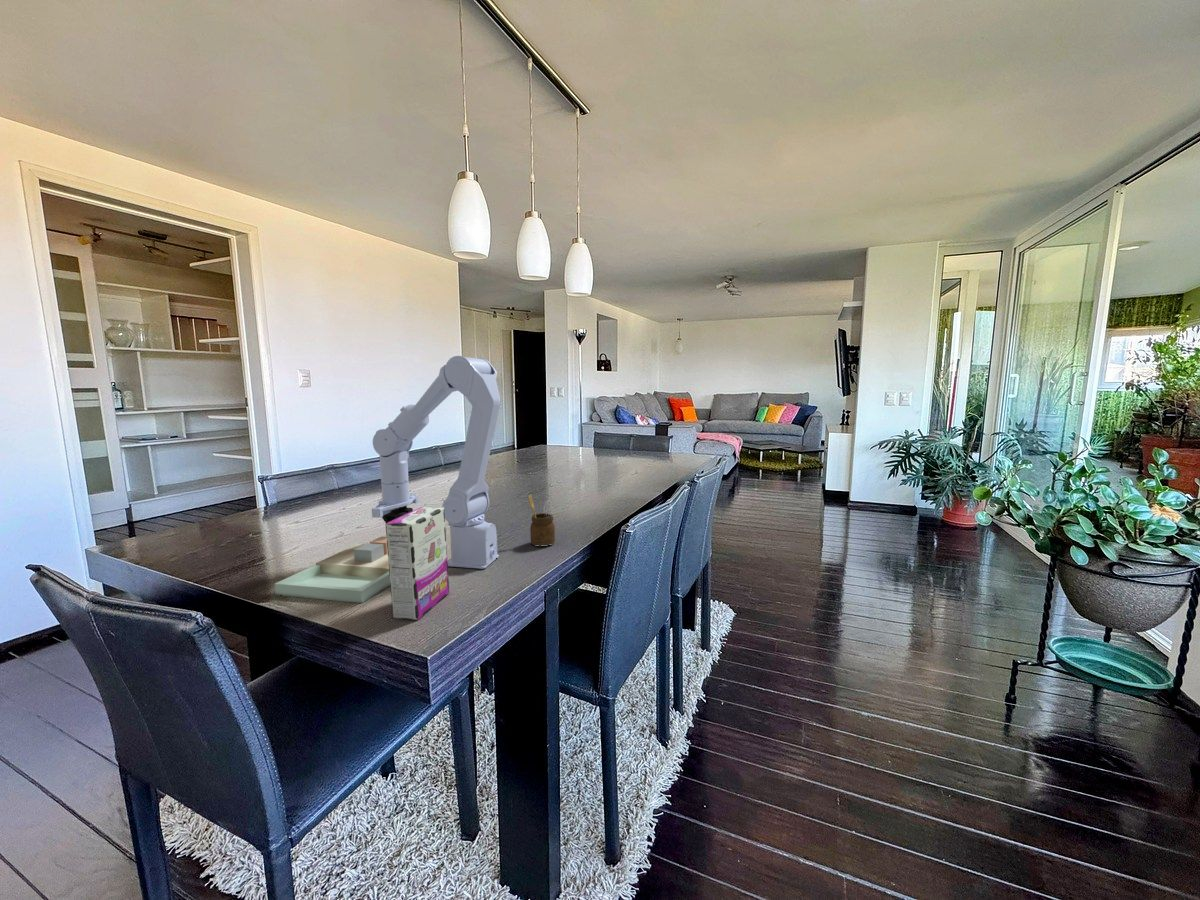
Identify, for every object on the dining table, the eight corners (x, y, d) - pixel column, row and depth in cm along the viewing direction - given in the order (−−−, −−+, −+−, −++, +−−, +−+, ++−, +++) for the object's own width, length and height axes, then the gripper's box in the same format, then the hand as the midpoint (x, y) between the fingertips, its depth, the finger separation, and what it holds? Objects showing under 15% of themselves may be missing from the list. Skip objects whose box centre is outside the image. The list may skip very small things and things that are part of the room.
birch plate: (431, 559, 109) (430, 548, 109) (396, 581, 97) (395, 569, 96) (359, 554, 113) (358, 543, 113) (316, 574, 100) (315, 563, 100)
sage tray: (396, 581, 97) (395, 570, 96) (362, 602, 87) (361, 591, 87) (316, 574, 100) (315, 564, 100) (275, 595, 90) (274, 583, 90)
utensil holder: (550, 548, 116) (549, 498, 115) (525, 546, 118) (524, 497, 116) (558, 540, 122) (557, 493, 120) (534, 539, 123) (533, 492, 122)
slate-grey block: (384, 555, 104) (383, 544, 104) (371, 562, 100) (371, 550, 100) (367, 554, 105) (366, 543, 105) (354, 561, 101) (353, 549, 101)
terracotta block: (398, 548, 109) (397, 537, 109) (387, 554, 105) (386, 543, 105) (382, 547, 110) (381, 536, 109) (370, 553, 106) (369, 541, 106)
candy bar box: (425, 591, 92) (420, 505, 90) (450, 593, 91) (446, 506, 89) (389, 619, 81) (383, 522, 79) (417, 621, 80) (412, 523, 78)
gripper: (398, 475, 118) (401, 530, 120) (357, 487, 104) (361, 549, 106) (424, 476, 117) (427, 532, 119) (387, 488, 103) (390, 551, 105)
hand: (398, 540), depth 112 cm, fingers closed
